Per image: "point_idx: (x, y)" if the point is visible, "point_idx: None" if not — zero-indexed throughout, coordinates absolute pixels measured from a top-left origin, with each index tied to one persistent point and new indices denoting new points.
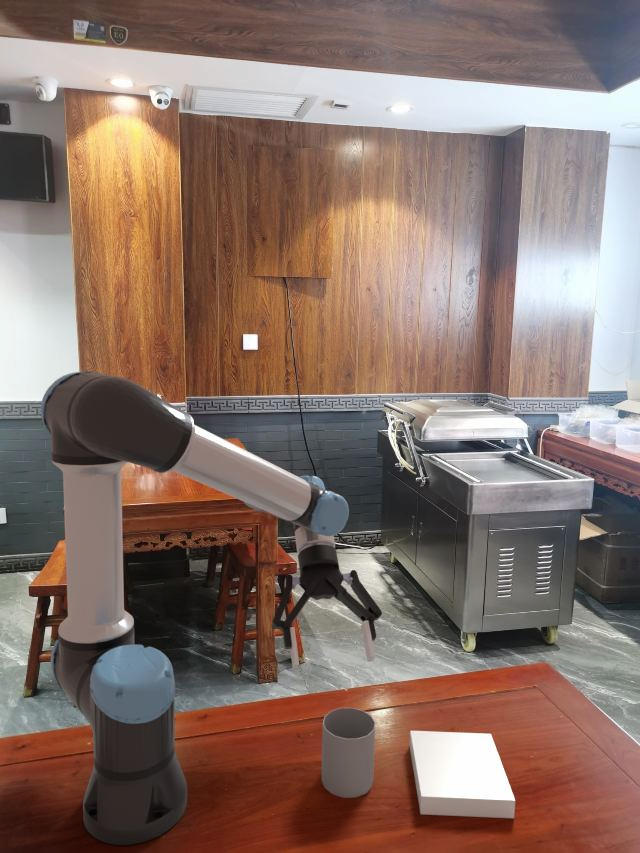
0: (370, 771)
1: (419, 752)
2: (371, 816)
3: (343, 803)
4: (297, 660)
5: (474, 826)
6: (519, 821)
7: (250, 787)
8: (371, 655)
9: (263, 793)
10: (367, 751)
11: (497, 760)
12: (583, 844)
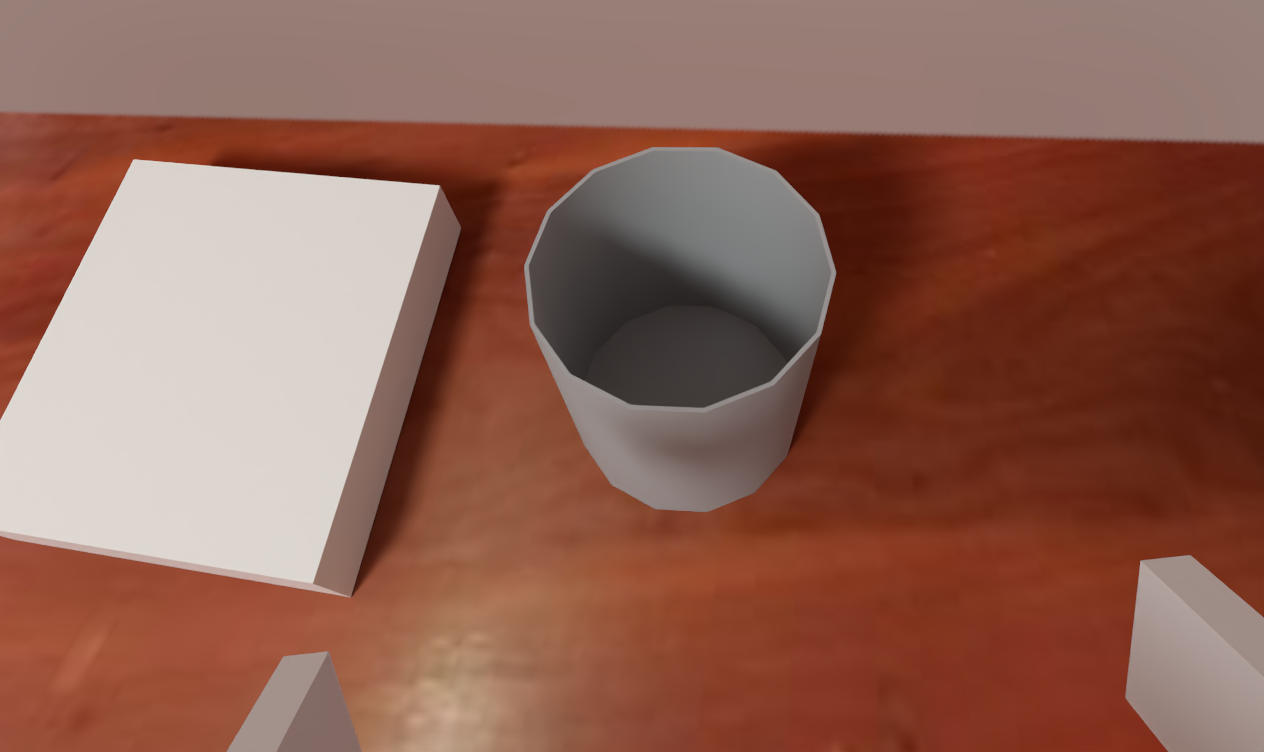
0: (596, 311)
1: (341, 414)
2: None
3: None
4: (1184, 588)
5: None
6: None
7: (1110, 386)
8: (316, 660)
9: (1045, 350)
10: (604, 224)
11: (50, 347)
12: (56, 116)
